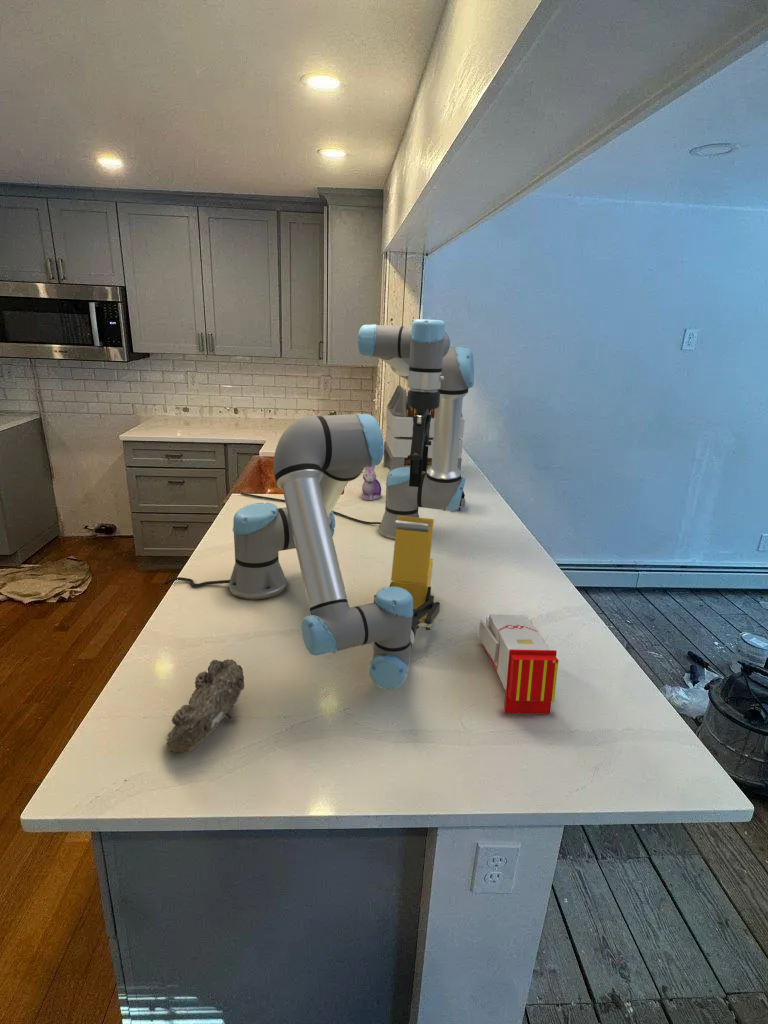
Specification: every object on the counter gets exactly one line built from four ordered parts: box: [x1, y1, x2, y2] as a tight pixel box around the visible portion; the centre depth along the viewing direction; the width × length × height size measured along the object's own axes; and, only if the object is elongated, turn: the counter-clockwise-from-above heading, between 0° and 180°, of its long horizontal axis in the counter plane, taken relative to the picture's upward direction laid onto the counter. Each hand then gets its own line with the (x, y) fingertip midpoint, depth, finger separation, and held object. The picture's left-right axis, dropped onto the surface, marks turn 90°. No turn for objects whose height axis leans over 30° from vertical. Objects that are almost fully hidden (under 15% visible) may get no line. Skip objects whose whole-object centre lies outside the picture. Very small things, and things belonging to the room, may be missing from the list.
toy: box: [477, 613, 560, 715], centre depth 124 cm, size 12×13×30 cm
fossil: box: [166, 658, 245, 754], centre depth 106 cm, size 22×10×15 cm
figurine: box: [361, 466, 382, 501], centre depth 234 cm, size 9×10×15 cm
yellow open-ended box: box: [390, 557, 434, 621], centre depth 150 cm, size 16×9×10 cm, turn 170°
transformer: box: [383, 384, 465, 472], centre depth 268 cm, size 34×33×41 cm
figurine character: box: [457, 490, 466, 511], centre depth 229 cm, size 7×8×15 cm
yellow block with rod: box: [390, 516, 435, 584], centre depth 137 cm, size 16×9×9 cm
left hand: (410, 589), depth 147 cm, fingers closed on yellow open-ended box, 9 cm apart
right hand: (418, 478), depth 138 cm, fingers open, 13 cm apart
